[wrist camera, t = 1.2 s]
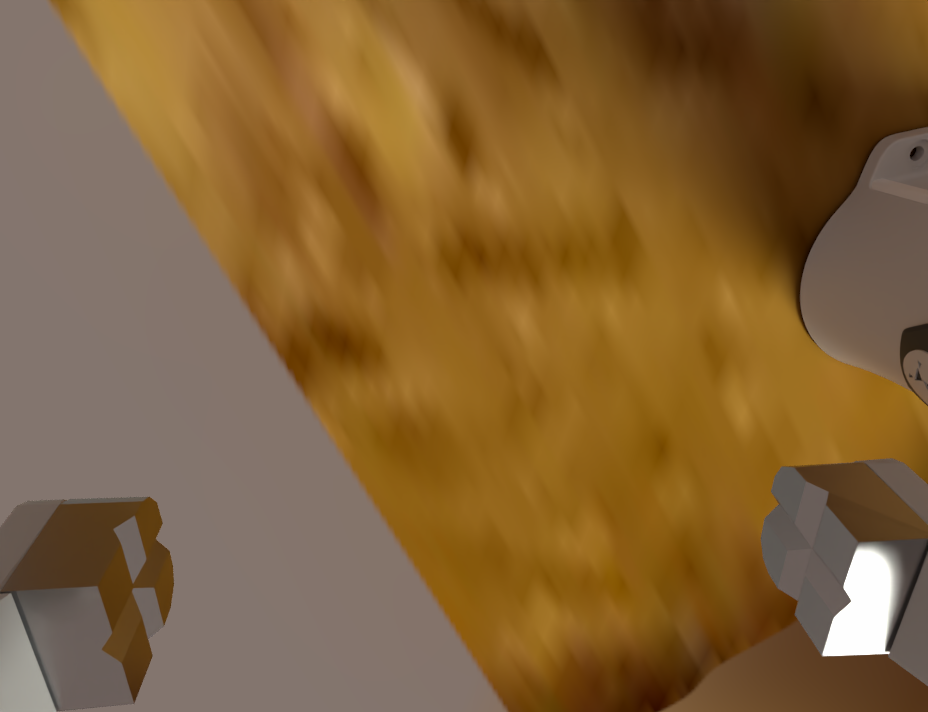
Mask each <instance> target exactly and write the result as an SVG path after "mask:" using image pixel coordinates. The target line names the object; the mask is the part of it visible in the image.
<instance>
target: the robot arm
mask: <svg viewBox="0 0 928 712" xmlns="http://www.w3.org/2000/svg"><path fill="white" fill-rule="evenodd" d="M915 147H916V152H915V154H914V155H913V156H912V157H911V158H910V153H911V151H912V149H913V148H915ZM800 304H801V311H802V316H803V320H804V323H805V326H806V328H807V330H808V332H809V334H810V336H811V337H812V339H813V340H814V341H815V343H816V344H817V345H818V346H819V347H820V348H821V349H822V350H823V351H824V352H826V353H827V354H828V355H830V356H831V357H833V358H835V359H837V360H839V361H841V362H843V363H846V364H849V365H852V366H856V367H859V368H862V369H864V370H867V371H870V372H872V373H875V374H877V375H880V376H882V377H884V378H886V379H889V380H891V381H893V382H895V383H897V384H899V385H901V386H903V387H905V388H907V389H909V390H910V391H912V392H914V393H915V394H916V395H917V396H918V397H919V398H920V399H921V400H922V401H923V402H924V403H925V404H926V405H927V406H928V127H925V128H920V129H915V130H911V131H906V132H902V133H897V134H893V135H890V136H888V137H886V138H884V139H882V140H881V141H880V142H879V143H878V144H877V145H876V147H875V148H874V149H873V151H872V153H871V154H870V156H869V158H868V160H867V162H866V165H865V167H864V169H863V172H862V174H861V176H860V179H859V181H858V184H857V186H856V188H855V189H854V190H853V192H852V193H851V195H850V196H849V197H848V198H847V200H846V201H845V202H844V203H843V204H842V205H841V206H840V208H839V209H838V210H837V211H836V212H835V213H834V214H833V216H832V217H831V218H830V219H829V221H828V222H827V223H826V225H825V226H824V228H823V229H822V231H821V232H820V234H819V235H818V237H817V239H816V241H815V243H814V244H813V246H812V249H811V251H810V253H809V255H808V258H807V261H806V264H805V267H804V271H803V275H802V280H801V289H800ZM771 492H772V494H773V495H774V497H775V499H776V500H777V502H778V503H779V505H778V506H777V507H776V508H775V509H774V510H773V511H772V512H771V513H770V514H769V515H768V516H767V517H766V518H765V520H764V525H763V530H762V535H761V544H762V552H763V559H764V562H765V565H766V567H767V570H768V573H769V575H770V576H771V578H772V580H773V581H774V583H775V584H776V586H777V588H778V589H780V590H782V591H783V592H785V593H786V594H788V595H790V596H791V597H793V598H794V599H796V600H798V602H797V607H796V611H795V615H796V617H797V619H798V620H799V622H800V623H801V625H802V626H803V628H804V629H805V631H806V632H807V634H808V635H809V637H810V638H811V640H812V641H813V643H814V644H815V646H816V648H817V649H818V651H819V652H820V654H821V655H822V656H833V655H834V656H835V655H862V654H885V653H889V655H888V657H889V658H891V659H892V660H893V661H895V662H896V663H897V664H899V665H900V666H901V667H903V668H904V669H905V670H907V671H908V672H910V673H911V674H912V675H914V676H915V677H916V678H918V679H919V680H920V681H922V682H923V683H924V684H926V685H927V686H928V484H927V483H925V482H924V481H923V480H922V479H921V478H920V477H919V476H918V475H917V474H915V473H914V472H913V471H912V470H911V469H910V468H909V467H908V466H907V465H905V464H904V463H902V462H900V461H897V460H895V459H892V458H890V459H878V460H865V461H855V462H854V463H837V464H819V465H801V466H782V467H781V469H780V470H779V471H778V473H777V474H776V476H775V479H774V483H773V486H772V490H771ZM161 526H162V519H161V516H160V512H159V509H158V505H157V502H156V501H154V500H153V499H152V498H150V497H130V498H93V499H69V500H43V501H27V502H25V503H22V504H20V505H18V506H17V507H16V508H15V509H14V510H13V511H12V512H11V514H10V515H9V516H8V518H7V519H6V520H5V522H4V523H3V524H2V525H1V527H0V712H57V711H65V710H75V709H85V708H95V707H106V706H116V705H127V704H134V703H135V700H136V697H137V695H138V692H139V690H140V687H141V685H142V682H143V679H144V677H145V674H146V671H147V669H148V667H149V664H150V661H151V659H152V652H151V648H150V645H149V641H148V639H149V638H150V637H152V636H153V635H154V634H155V633H156V632H158V631H159V630H160V629H161V628H162V627H163V626H164V625H165V622H166V619H167V616H168V613H169V610H170V608H171V600H172V594H173V586H174V578H173V565H172V560H171V556H170V551H169V550H168V549H167V548H165V547H164V546H163V545H162V544H161V543H159V542H158V541H157V540H156V537H157V535H158V533H159V530H160V528H161Z"/></svg>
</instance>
